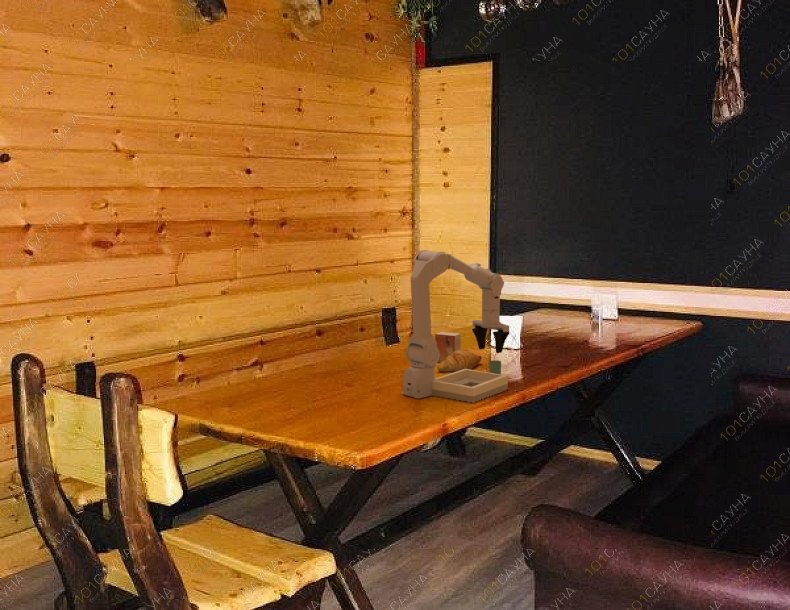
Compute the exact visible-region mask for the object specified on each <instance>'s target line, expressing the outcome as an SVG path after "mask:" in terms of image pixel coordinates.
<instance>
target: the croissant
mask: <svg viewBox="0 0 790 610" xmlns="http://www.w3.org/2000/svg"><path fill="white" fill-rule="evenodd" d="M482 358H483V357H482V356H481V355H478V354H474V353H472V352H470V351H469V350H468V349H464V348H463V349H462V348H461V350H457V351H454V352H452V353H451V354H450V355H449V356H448V357H446V359H445V360H444V361H442V362H440V364H438V365H437V366H436V369H437V370H438V372H443V373H444V372H446V373H447V372H448V373H449V372H451V373H454V372H457V371H460V370H463V369H470V370H473V368H474V367H476V366H477V365H479V364H480V363H481V361H482Z"/></svg>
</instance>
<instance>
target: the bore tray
mask: <svg viewBox="0 0 790 610" xmlns="http://www.w3.org/2000/svg"><path fill="white" fill-rule="evenodd" d="M507 389H508V390H509V375H507V374H502V373H501V374H495V373H490V371H489V372H488V371H484V370H482V371H481V370H476V369H463V370H460V371H457V372H451V373H447V374H445V375H442V376H439V377H435V380H434V381H432V394H434V395H432V396H433V397H438V396H439V397H440V398H443V397H444V399H448V398H450V400H454V399H456V400H455V401H459V400H461V401H460V402H464V401H467V402H466V403H470V402H472V403H471V404H474V402H475V403H477V402H480V401H481V399H482V400H485V399H487V398H490V397H493V396H495V395H497V393H498V394H500V393H502V392H505V391H507ZM494 394H495V395H494ZM492 395H493V396H492ZM489 396H490V397H489ZM486 397H487V398H486ZM484 398H485V399H484ZM479 400H480V401H479ZM476 401H477V402H476Z"/></svg>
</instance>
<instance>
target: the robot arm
mask: <svg viewBox="0 0 790 610" xmlns="http://www.w3.org/2000/svg"><path fill="white" fill-rule="evenodd" d="M481 265H482V264H481V263H479V262H475V263H471V264H468V263H466V262H464V261H462V260H461V259H459V258H457V257H455V256H454V255H452V254H449V253H446V252H444V251H433V250H427V249H422V250H420V251H419V252H417V254H416V255H415V257H413V267H412V268H413V269H412V272H411V275H410V290H411V291H410V292H411V293H410V294H411V295H410V296H411V314H412V331H413V332H412V333H413V334H412V336H410V337H409V338H408V339H407V347H406V351H405V353H406V354H405V355H406V358H407V359H408V361H409V364H410V366H409V367H407V368H406V369H404V371H403V374H402V391H401V394H402V395H403V396H408V397H412V398H415V399H423V398H427V397H431V396H433V395H434V394H432V381H434V380H435V378H436V377H435V373H436V372H435V368H436V367H437V365H436V364H438V363H439V362H438V360H439V357H440V354H439V350H438V348H437V342H436V340H435V338H434V337H435V336H433V334H432V321H431V316H432V315H431V299H430V298H431V297H430V296H431V295H430V283H431V282H432V281H433V280H434V279H436V278H437V277H438V276H440V275H441V274H443V273H445V272H446V271H447V270H453V271H455V272H458V273H460V274H462V275H464V279H465V280H466V281H468V282H470V283H472V284H475V285H476V286H478V287H479V289H480V290H481V319H480V320H478V319H474V320H472V327H474V328H472V329H471V331H472V333H473V334H474V336H475V339H476V342H477V346H478V350H485V349H486V341H487V340H486V339H487V333H488V330H493V331H492V334H493V337H494V342H495V343H494V344H495V354H501V353H503V349H504V346H505V343H506V340H507V338H508V336H509V335H510V325H508V324H505V323H502V322H501V321H500V319H501V317H500V313H501V312H500V311H501V310H500V309H501V308H500V307H501V306H500V304H501V301H500V299H501V297H500V296H501V295H502V289H503V288H504V285H505V281H504V280H503V277H502V276H501V274H499V273H495V272H492V269H489V268H484V267H482V266H481Z"/></svg>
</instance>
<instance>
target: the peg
mask: <svg viewBox="0 0 790 610" xmlns="http://www.w3.org/2000/svg"><path fill="white" fill-rule="evenodd" d="M489 373H495V374H502V361H501V360H490V361H489Z"/></svg>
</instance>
